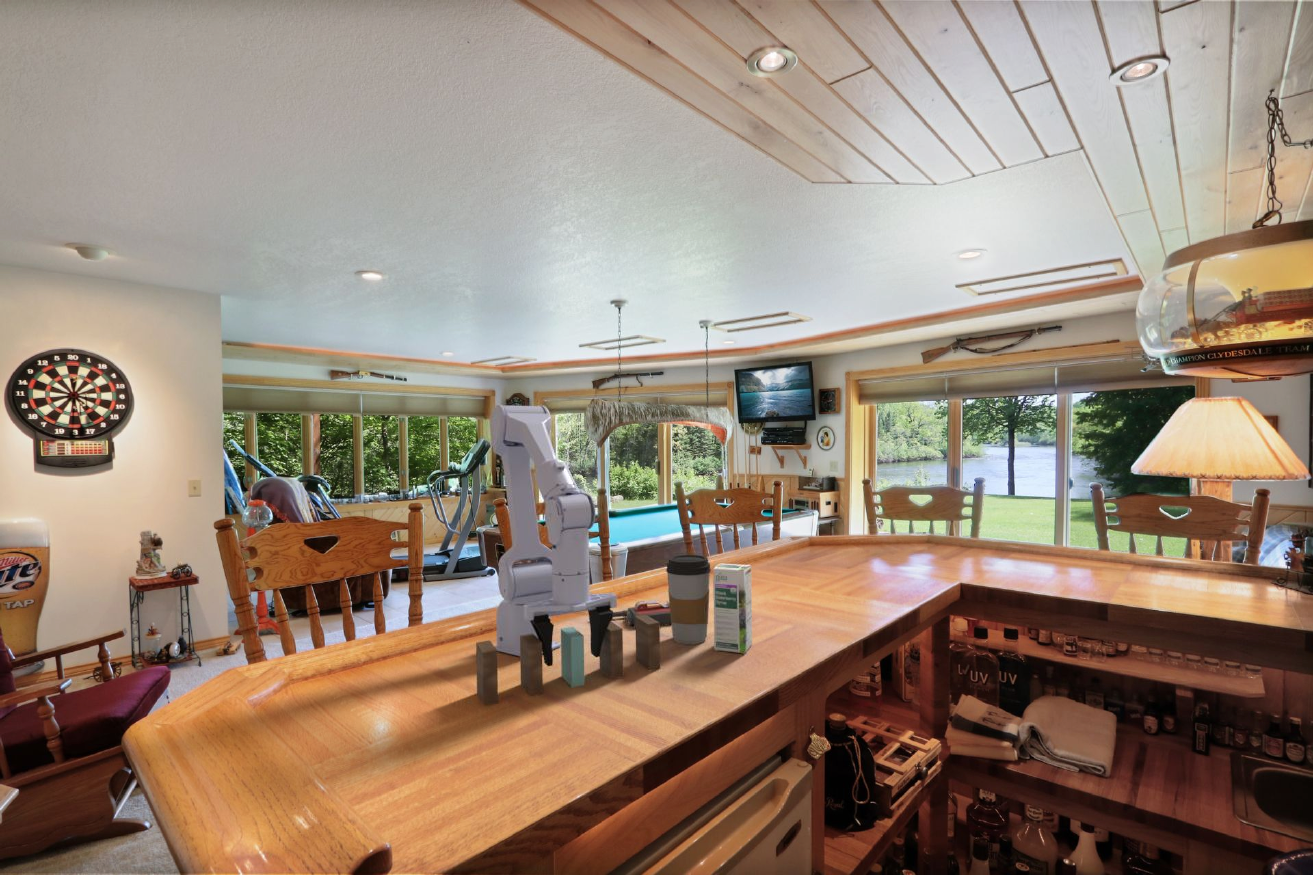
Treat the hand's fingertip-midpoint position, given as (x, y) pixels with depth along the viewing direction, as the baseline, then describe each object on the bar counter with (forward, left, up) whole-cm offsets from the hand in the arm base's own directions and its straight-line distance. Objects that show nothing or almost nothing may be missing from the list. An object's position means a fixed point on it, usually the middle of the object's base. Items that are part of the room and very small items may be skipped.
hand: (572, 659), depth 94 cm
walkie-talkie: (-8, +31, -4) cm, 32 cm away
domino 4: (+3, +6, -3) cm, 7 cm away
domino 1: (-6, -11, -3) cm, 13 cm away
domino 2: (-3, -6, -3) cm, 7 cm away
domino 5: (+6, +11, -3) cm, 13 cm away
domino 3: (0, 0, -3) cm, 3 cm away
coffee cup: (+6, +26, -3) cm, 27 cm away
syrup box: (+15, +26, -3) cm, 30 cm away
